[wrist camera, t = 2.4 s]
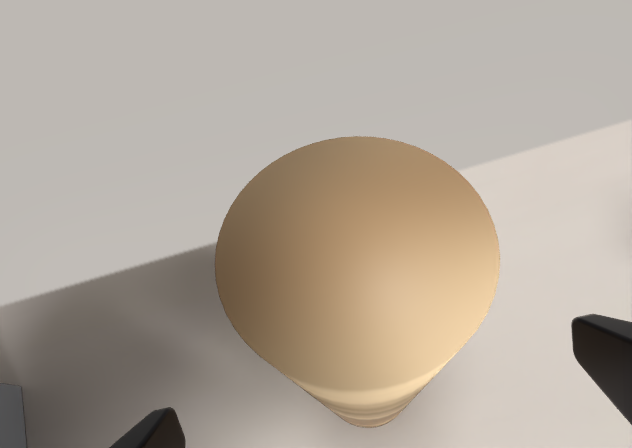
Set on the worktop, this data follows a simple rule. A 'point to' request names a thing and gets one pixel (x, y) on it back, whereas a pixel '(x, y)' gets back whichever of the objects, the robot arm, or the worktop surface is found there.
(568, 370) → the worktop surface
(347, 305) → the pin
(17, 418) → the socket block
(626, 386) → the robot arm
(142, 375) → the worktop surface
